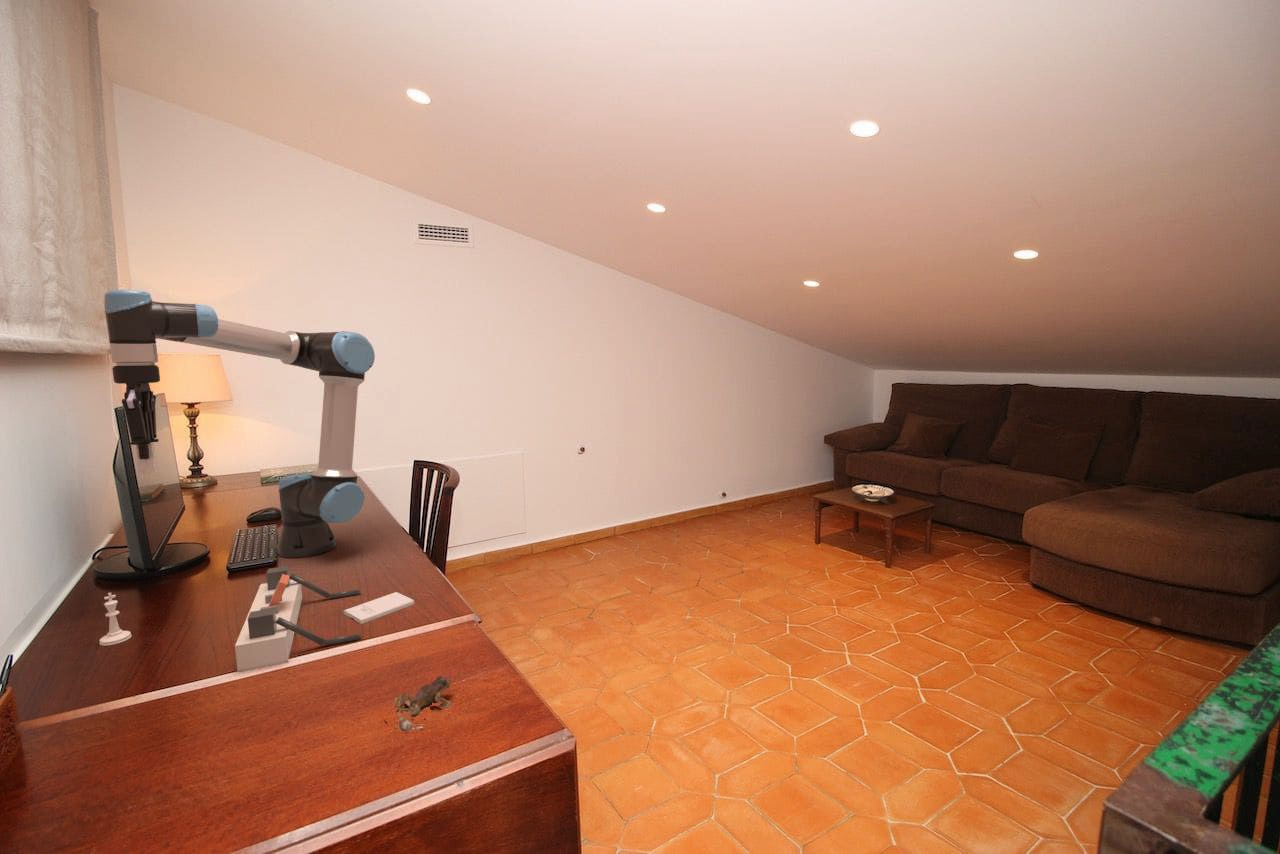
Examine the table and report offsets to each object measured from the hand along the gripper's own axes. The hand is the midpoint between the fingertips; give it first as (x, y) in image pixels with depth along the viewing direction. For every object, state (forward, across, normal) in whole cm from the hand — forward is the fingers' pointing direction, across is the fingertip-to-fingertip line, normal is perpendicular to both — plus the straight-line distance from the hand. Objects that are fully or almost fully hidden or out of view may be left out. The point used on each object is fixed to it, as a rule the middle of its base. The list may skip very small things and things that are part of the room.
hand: (148, 473), depth 126 cm
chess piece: (+33, +10, -6) cm, 35 cm away
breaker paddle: (+27, +20, +23) cm, 41 cm away
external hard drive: (+33, +19, +44) cm, 58 cm away
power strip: (+32, +20, +30) cm, 48 cm away
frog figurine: (+33, +63, +48) cm, 86 cm away
